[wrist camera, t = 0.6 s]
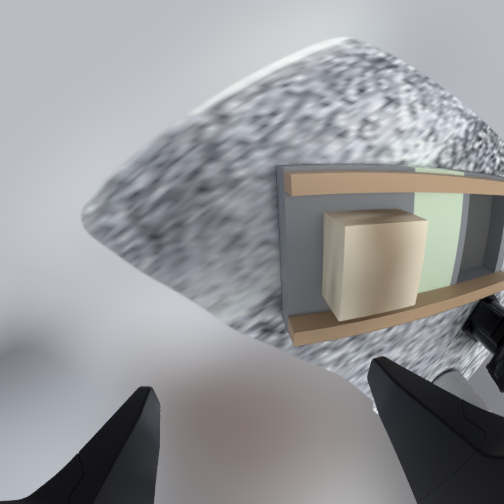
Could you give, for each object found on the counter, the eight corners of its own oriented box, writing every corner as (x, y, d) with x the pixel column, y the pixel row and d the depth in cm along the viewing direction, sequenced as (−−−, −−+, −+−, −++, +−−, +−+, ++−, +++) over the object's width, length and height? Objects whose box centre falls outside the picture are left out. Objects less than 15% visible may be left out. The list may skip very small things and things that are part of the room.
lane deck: (498, 175, 20) (526, 183, 16) (484, 274, 24) (508, 289, 20) (275, 165, 18) (290, 168, 14) (282, 315, 23) (293, 349, 18)
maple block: (398, 208, 18) (428, 220, 14) (391, 283, 20) (414, 305, 16) (323, 212, 17) (345, 226, 14) (321, 294, 19) (338, 321, 16)
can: (445, 364, 29) (489, 419, 17) (463, 369, 30) (502, 416, 19) (412, 401, 31) (447, 458, 19) (434, 403, 32) (466, 451, 21)
